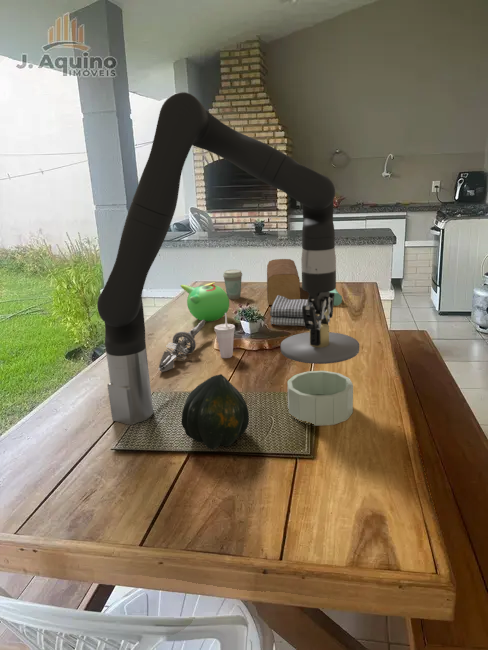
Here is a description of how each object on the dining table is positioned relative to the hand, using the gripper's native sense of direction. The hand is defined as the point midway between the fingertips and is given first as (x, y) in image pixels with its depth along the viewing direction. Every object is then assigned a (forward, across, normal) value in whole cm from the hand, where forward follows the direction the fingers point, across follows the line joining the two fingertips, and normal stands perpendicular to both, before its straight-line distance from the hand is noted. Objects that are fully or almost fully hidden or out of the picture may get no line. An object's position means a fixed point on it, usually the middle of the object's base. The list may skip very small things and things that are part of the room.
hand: (319, 341), depth 118 cm
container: (+18, +99, +34) cm, 106 cm away
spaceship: (+18, +18, +53) cm, 59 cm away
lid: (+2, 0, 0) cm, 2 cm away
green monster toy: (+17, +52, +67) cm, 87 cm away
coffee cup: (+18, +85, +75) cm, 115 cm away
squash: (+18, -22, +16) cm, 32 cm away
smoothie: (+18, +22, +40) cm, 49 cm away
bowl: (+17, 0, 0) cm, 17 cm away
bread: (+18, +95, +55) cm, 112 cm away
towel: (+18, +64, +37) cm, 76 cm away
